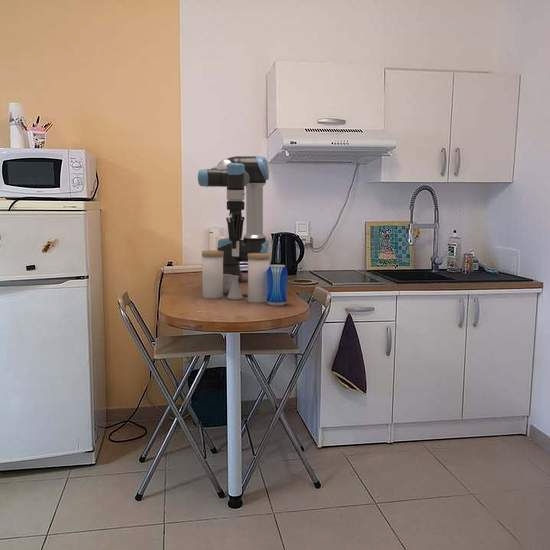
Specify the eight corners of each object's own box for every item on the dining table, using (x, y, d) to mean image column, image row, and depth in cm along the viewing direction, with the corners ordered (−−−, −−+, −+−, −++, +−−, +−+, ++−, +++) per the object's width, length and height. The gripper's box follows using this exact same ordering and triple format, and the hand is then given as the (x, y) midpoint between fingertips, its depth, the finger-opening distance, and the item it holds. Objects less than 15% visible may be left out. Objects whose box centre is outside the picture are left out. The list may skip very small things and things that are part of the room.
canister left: (208, 294, 245) (208, 250, 242) (227, 296, 241) (227, 251, 239) (197, 297, 236) (197, 251, 233) (217, 299, 232) (217, 252, 230)
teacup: (228, 294, 245) (228, 277, 244) (205, 293, 247) (205, 276, 246) (237, 290, 258) (237, 273, 257) (215, 289, 260) (215, 272, 259)
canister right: (252, 298, 236) (253, 252, 234) (272, 299, 233) (273, 253, 230) (243, 301, 228) (243, 254, 225) (264, 303, 224) (264, 255, 222)
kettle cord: (216, 294, 245) (216, 292, 245) (217, 293, 246) (217, 291, 246) (267, 298, 236) (267, 296, 235) (268, 298, 237) (268, 296, 236)
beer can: (266, 302, 227) (267, 264, 225) (286, 302, 227) (287, 264, 225) (265, 305, 219) (266, 266, 217) (286, 306, 218) (287, 266, 216)
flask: (229, 300, 230) (230, 277, 228) (224, 297, 236) (224, 275, 235) (245, 299, 233) (246, 276, 231) (240, 297, 239) (240, 274, 238)
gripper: (236, 200, 222) (236, 258, 225) (250, 200, 234) (249, 255, 237) (220, 200, 224) (220, 257, 228) (234, 200, 236) (234, 254, 240)
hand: (235, 256), depth 232 cm, fingers closed
